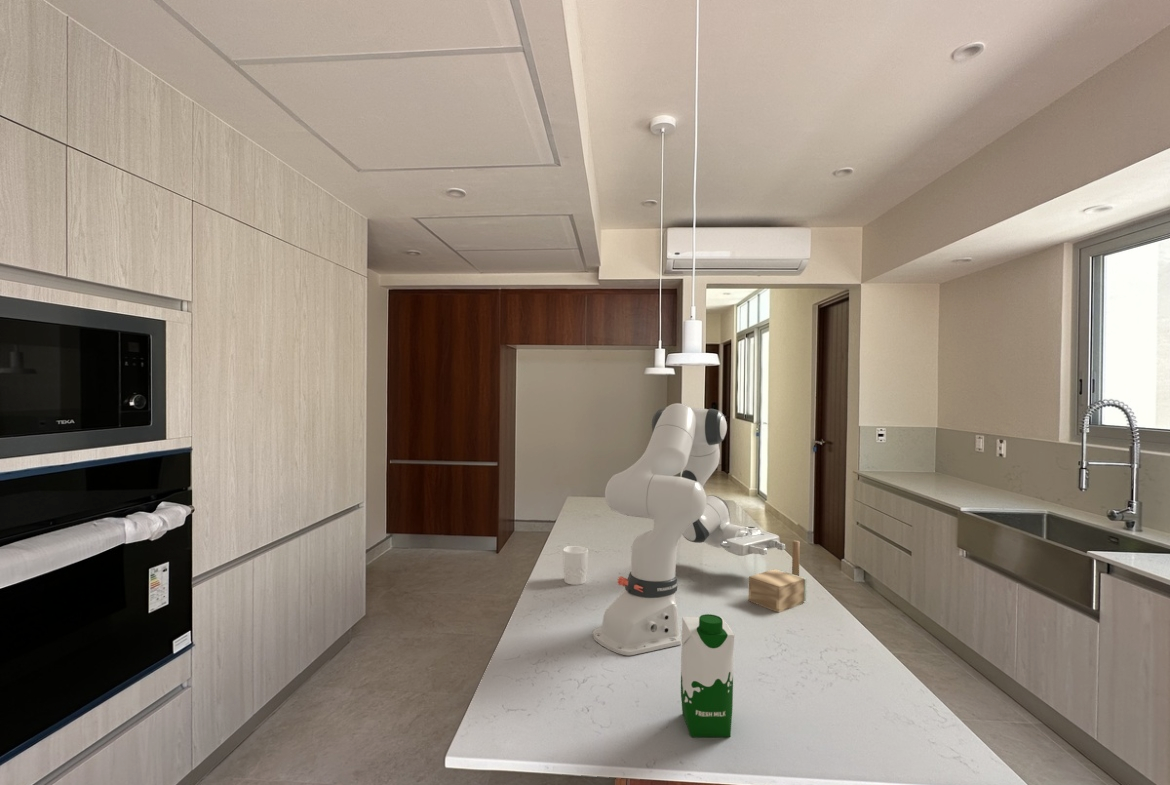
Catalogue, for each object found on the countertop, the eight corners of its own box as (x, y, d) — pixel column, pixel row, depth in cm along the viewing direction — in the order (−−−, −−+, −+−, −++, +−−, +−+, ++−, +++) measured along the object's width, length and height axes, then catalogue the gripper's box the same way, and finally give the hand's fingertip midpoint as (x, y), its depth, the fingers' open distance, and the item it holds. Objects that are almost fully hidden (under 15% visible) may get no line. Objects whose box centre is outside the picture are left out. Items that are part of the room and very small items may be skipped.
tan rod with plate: (781, 610, 152) (782, 553, 152) (751, 598, 160) (752, 544, 160) (812, 598, 161) (813, 544, 161) (782, 588, 169) (783, 537, 169)
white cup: (588, 577, 177) (589, 546, 177) (586, 586, 169) (587, 553, 169) (564, 576, 178) (564, 545, 178) (560, 585, 170) (561, 552, 170)
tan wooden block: (778, 612, 151) (779, 586, 151) (748, 600, 159) (748, 576, 159) (803, 603, 159) (804, 578, 159) (773, 592, 167) (773, 569, 167)
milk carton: (686, 740, 95) (688, 624, 95) (676, 710, 104) (678, 604, 104) (737, 740, 95) (739, 624, 95) (722, 710, 104) (724, 604, 104)
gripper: (717, 534, 175) (754, 544, 164) (757, 525, 187) (793, 534, 176) (716, 554, 175) (753, 565, 164) (756, 544, 187) (793, 554, 176)
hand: (774, 549), depth 170 cm, fingers open, 8 cm apart
